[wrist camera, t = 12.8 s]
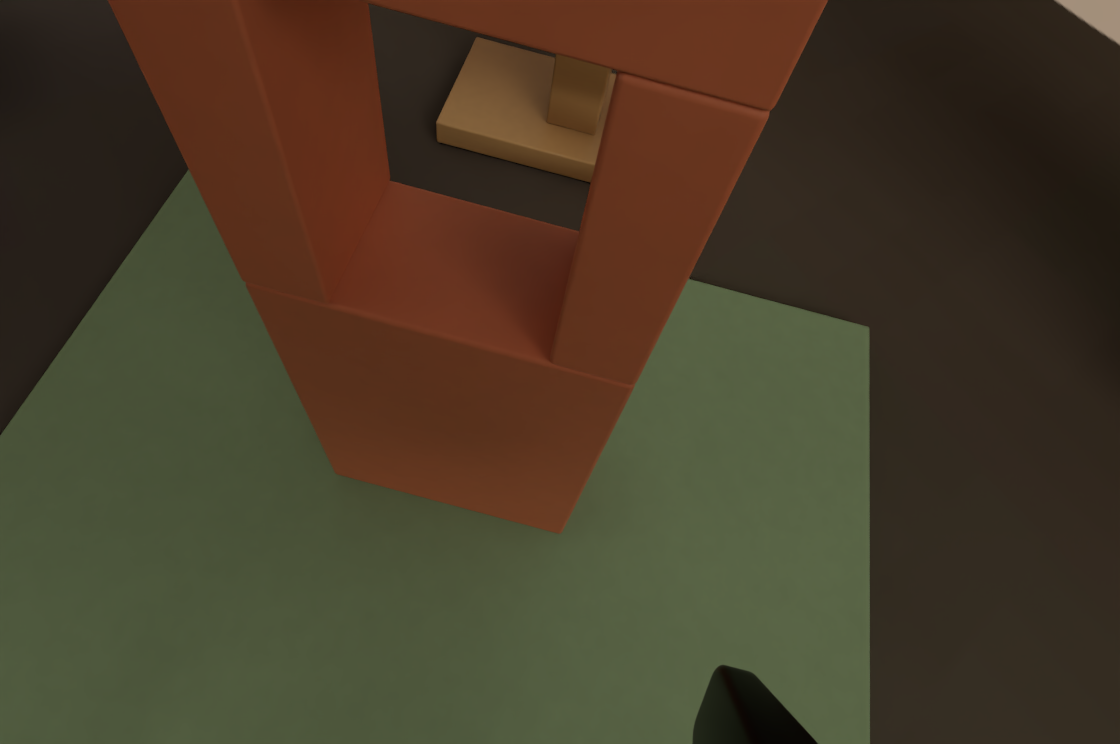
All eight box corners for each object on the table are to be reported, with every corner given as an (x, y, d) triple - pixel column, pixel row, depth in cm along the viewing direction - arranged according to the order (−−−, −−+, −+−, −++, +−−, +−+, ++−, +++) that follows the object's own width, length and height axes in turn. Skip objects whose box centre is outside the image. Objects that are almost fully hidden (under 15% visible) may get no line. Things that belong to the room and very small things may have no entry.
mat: (858, 1225, 11) (872, 1240, 11) (-320, 916, 11) (-346, 921, 11) (862, 333, 20) (869, 326, 20) (207, 158, 20) (202, 148, 19)
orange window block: (561, 535, 15) (837, -17, 4) (333, 474, 15) (-16, -246, 4) (583, 442, 17) (845, -187, 5) (371, 385, 17) (181, -367, 5)
